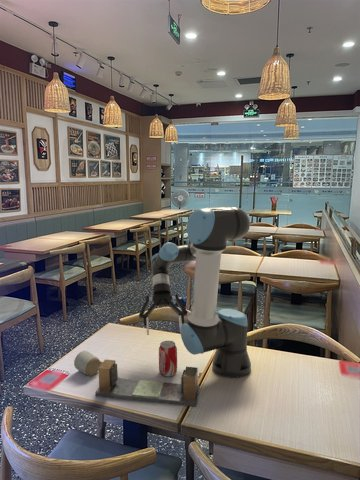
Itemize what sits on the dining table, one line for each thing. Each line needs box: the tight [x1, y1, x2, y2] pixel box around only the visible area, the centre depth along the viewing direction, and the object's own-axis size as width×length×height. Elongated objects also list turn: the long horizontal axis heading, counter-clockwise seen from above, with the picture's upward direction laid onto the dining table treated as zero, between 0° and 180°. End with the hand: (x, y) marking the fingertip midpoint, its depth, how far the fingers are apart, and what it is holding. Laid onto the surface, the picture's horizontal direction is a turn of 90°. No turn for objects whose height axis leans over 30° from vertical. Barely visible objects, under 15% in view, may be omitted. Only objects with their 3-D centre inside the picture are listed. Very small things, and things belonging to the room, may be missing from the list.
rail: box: [95, 359, 201, 408], centre depth 122 cm, size 35×10×10 cm, turn 80°
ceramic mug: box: [73, 350, 103, 377], centre depth 138 cm, size 11×8×8 cm
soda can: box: [158, 340, 178, 377], centre depth 135 cm, size 7×7×12 cm
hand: (164, 332), depth 142 cm, fingers open, 13 cm apart
